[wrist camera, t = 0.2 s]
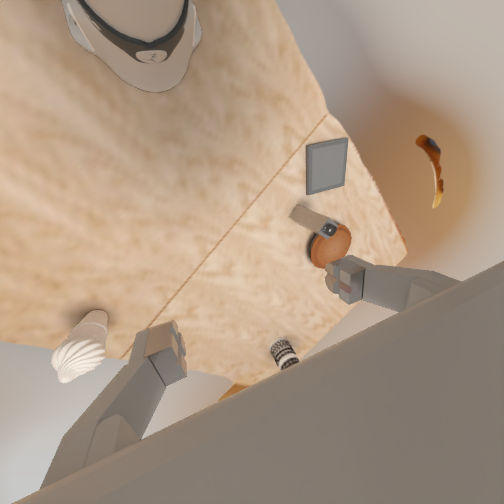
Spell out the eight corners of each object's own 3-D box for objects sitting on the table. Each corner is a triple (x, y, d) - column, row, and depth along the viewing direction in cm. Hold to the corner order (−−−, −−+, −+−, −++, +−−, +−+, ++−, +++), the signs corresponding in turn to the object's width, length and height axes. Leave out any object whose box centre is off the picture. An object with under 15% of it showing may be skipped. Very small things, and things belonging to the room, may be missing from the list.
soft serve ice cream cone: (111, 299, 47) (88, 357, 33) (122, 323, 50) (105, 385, 37) (68, 308, 44) (25, 375, 31) (83, 333, 48) (50, 403, 35)
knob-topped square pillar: (288, 216, 55) (321, 234, 43) (297, 204, 54) (332, 219, 42) (297, 223, 57) (331, 241, 45) (305, 211, 56) (342, 227, 44)
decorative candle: (276, 335, 77) (316, 402, 56) (292, 338, 82) (334, 401, 61) (264, 351, 79) (298, 423, 58) (280, 353, 83) (317, 420, 63)
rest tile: (305, 145, 48) (308, 145, 47) (344, 137, 51) (348, 137, 50) (306, 194, 54) (308, 195, 53) (341, 184, 57) (344, 185, 56)
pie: (308, 223, 59) (318, 228, 54) (347, 218, 64) (360, 223, 60) (301, 267, 66) (310, 274, 61) (337, 259, 71) (347, 266, 67)
